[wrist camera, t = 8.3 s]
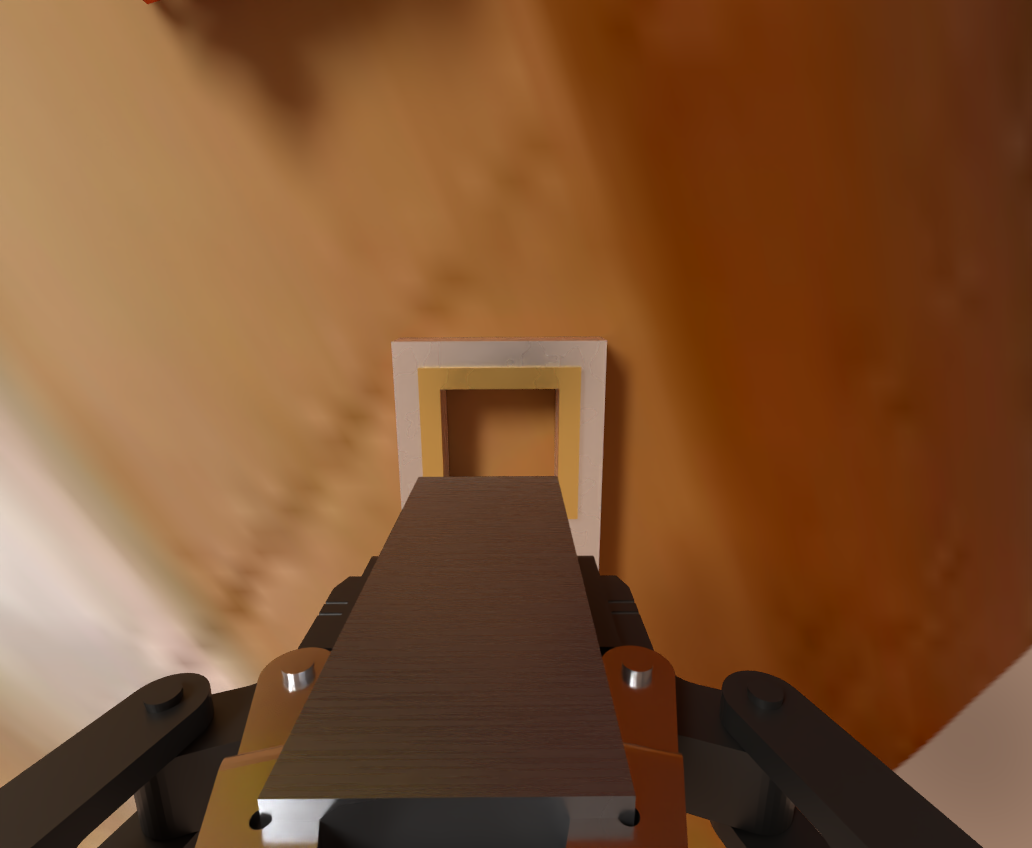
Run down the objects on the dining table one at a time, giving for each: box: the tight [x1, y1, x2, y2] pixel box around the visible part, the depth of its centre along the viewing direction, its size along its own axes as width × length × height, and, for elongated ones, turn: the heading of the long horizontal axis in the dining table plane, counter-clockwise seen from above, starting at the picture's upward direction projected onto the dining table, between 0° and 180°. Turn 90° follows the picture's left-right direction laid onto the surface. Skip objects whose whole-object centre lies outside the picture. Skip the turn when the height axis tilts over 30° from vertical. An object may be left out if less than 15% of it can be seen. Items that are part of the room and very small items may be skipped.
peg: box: [257, 476, 636, 848], centre depth 11 cm, size 4×4×10 cm
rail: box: [391, 337, 607, 571], centre depth 29 cm, size 10×26×2 cm, turn 0°
